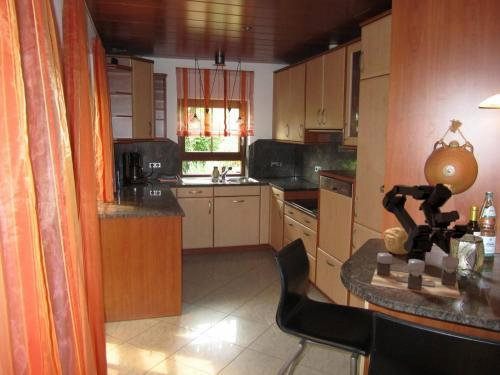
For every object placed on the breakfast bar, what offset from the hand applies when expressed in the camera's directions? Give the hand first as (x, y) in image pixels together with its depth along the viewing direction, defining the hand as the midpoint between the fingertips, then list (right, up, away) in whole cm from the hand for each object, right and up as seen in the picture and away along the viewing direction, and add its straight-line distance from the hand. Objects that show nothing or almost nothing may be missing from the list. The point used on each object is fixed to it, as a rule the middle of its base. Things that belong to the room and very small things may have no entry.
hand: (448, 253), depth 144 cm
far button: (-13, -7, -5) cm, 16 cm away
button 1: (-20, -7, +8) cm, 22 cm away
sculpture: (-4, -6, +38) cm, 39 cm away
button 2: (0, -7, 0) cm, 7 cm away
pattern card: (-11, -10, +1) cm, 15 cm away
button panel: (-11, -11, 0) cm, 16 cm away
